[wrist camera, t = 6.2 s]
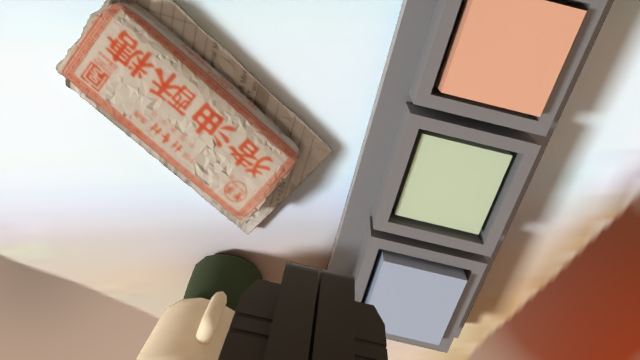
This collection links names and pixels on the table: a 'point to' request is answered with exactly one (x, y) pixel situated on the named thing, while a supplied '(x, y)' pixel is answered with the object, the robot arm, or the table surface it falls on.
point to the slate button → (414, 295)
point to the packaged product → (192, 107)
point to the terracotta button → (509, 52)
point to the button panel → (452, 120)
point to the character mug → (201, 311)
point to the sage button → (450, 181)
